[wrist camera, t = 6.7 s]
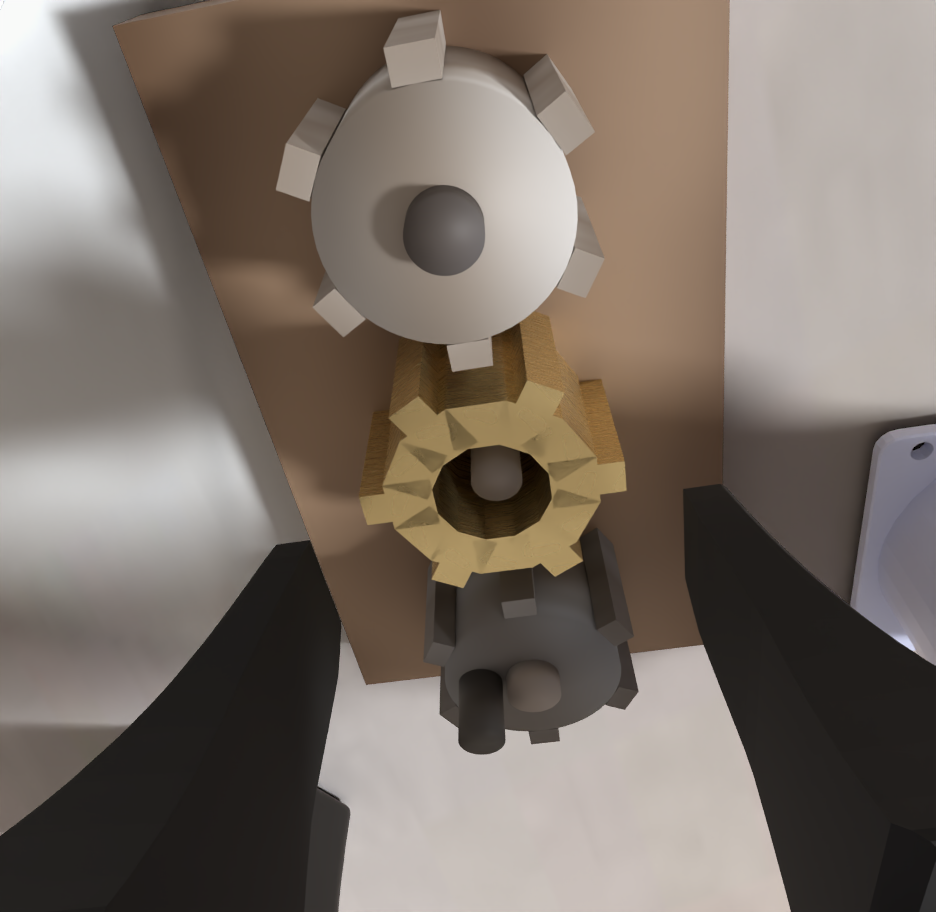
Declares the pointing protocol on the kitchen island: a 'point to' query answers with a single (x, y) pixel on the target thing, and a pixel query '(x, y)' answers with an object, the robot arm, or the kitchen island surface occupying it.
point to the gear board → (600, 336)
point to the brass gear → (486, 424)
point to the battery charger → (326, 853)
